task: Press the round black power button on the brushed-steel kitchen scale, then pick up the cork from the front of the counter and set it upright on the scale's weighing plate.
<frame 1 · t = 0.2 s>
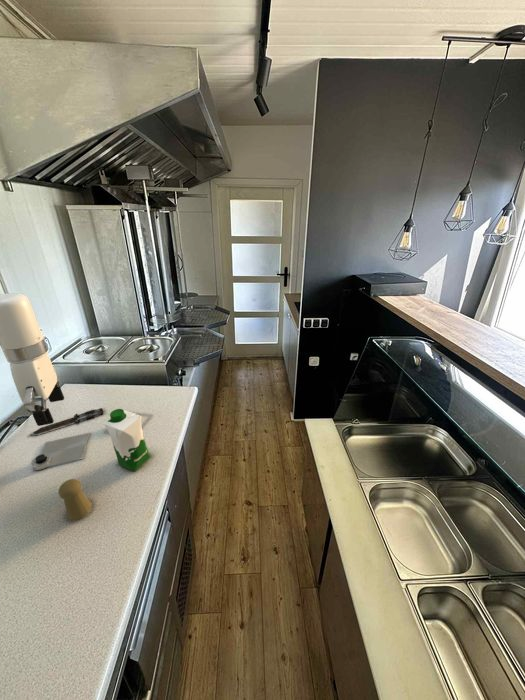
hand: (52, 411, 71), 32 cm above the countertop, tool pointing down, fingers open, 9 cm apart
milk carton: (135, 461, 97), on the countertop
knife: (69, 424, 115), on the countertop
power button: (40, 458, 95), point 3 cm above the countertop, slide at 0.1 cm
scale: (64, 451, 101), on the countertop
cork: (80, 511, 81), on the countertop
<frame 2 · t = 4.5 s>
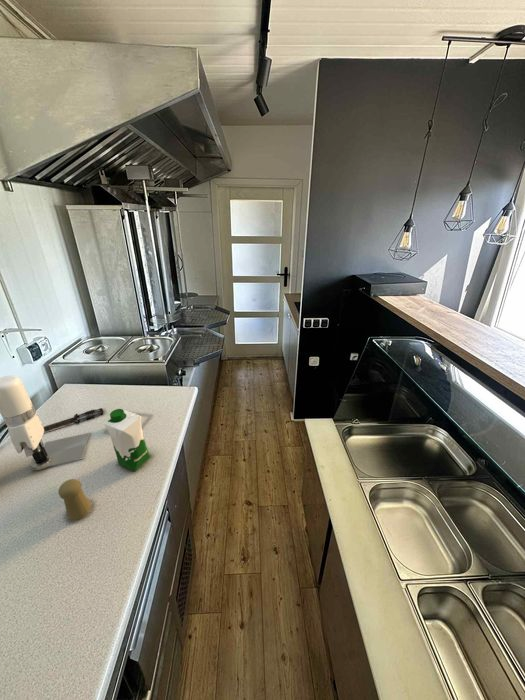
hand: (41, 458, 95), 3 cm above the countertop, tool pointing down, fingers closed
power button: (41, 460, 95), point 2 cm above the countertop, slide at -0.6 cm, touching gripper
everything else where it was.
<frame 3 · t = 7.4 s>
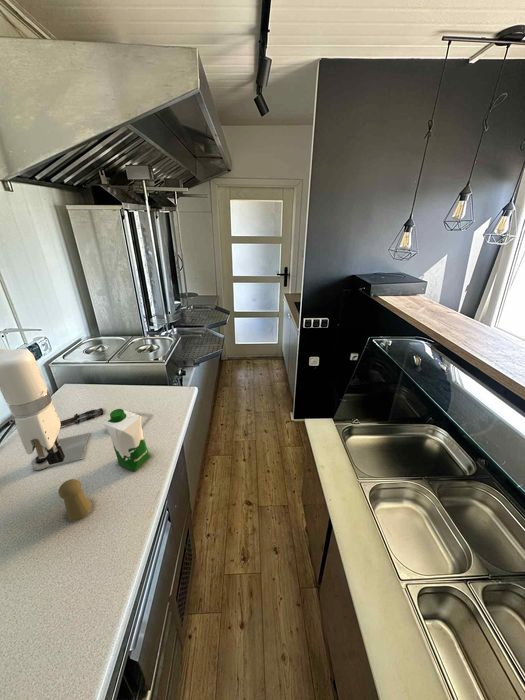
hand: (57, 460, 73), 19 cm above the countertop, tool pointing down, fingers closed
power button: (40, 458, 95), point 3 cm above the countertop, slide at 0.1 cm
everything else where it was.
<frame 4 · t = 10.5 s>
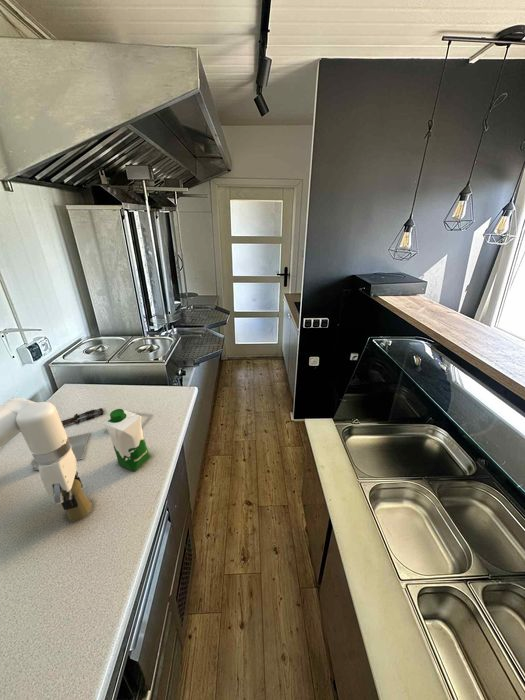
hand: (74, 497, 79), 6 cm above the countertop, tool pointing down, fingers closed on cork, 5 cm apart
cork: (80, 511, 81), on the countertop, touching gripper
everything else where it was.
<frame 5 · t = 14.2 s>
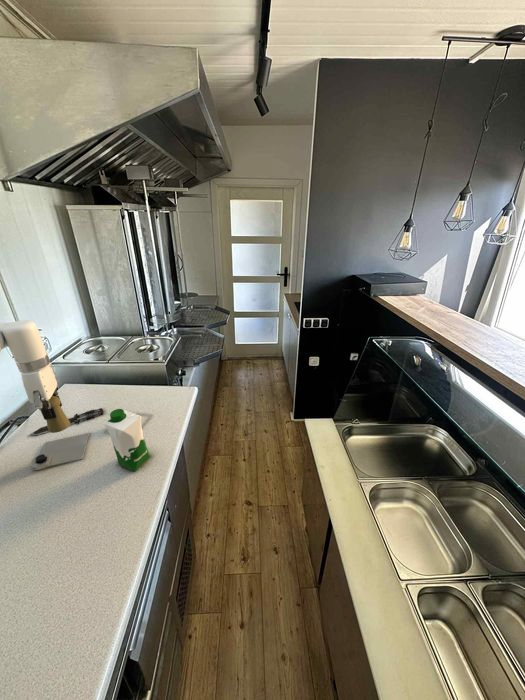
hand: (53, 412, 91), 19 cm above the countertop, tool pointing down, fingers closed on cork, 5 cm apart
cork: (59, 426, 94), point 13 cm above the countertop, touching gripper
everything else where it was.
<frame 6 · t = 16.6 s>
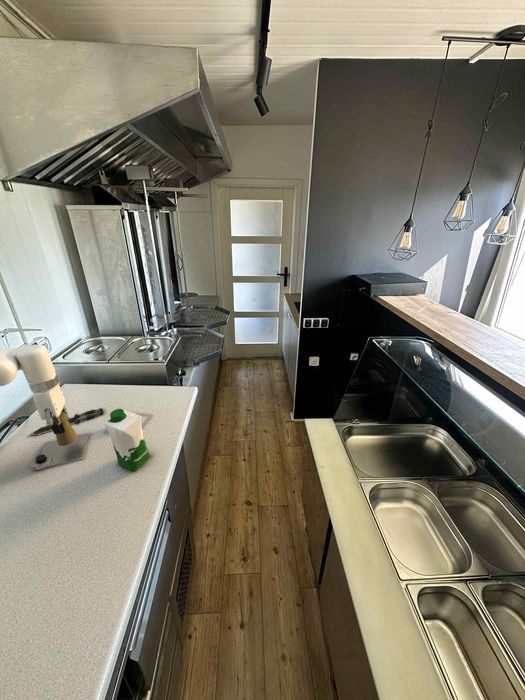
hand: (62, 426, 98), 10 cm above the countertop, tool pointing down, fingers closed on cork, 5 cm apart
cork: (67, 440, 101), point 4 cm above the countertop, touching gripper
everything else where it was.
when the fingers open (7 cm above the countertop, at t = 18.1 s): cork stays where it is, resting on scale.
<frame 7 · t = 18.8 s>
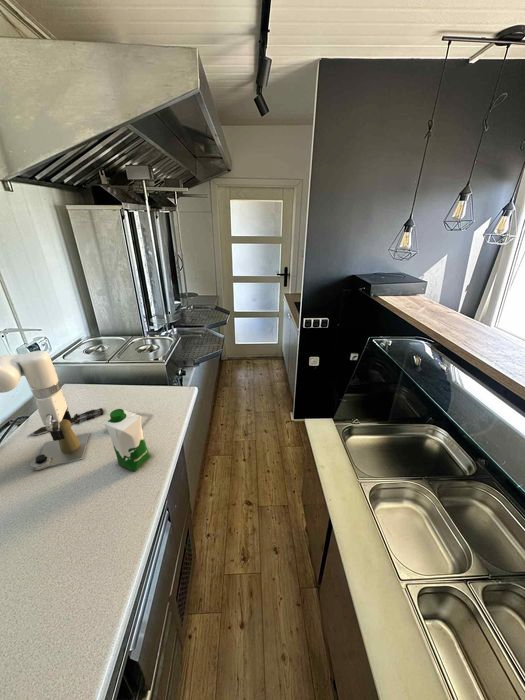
hand: (63, 429, 99), 9 cm above the countertop, tool pointing down, fingers open, 9 cm apart
cork: (70, 446, 103), point 1 cm above the countertop, touching scale
everything else where it was.
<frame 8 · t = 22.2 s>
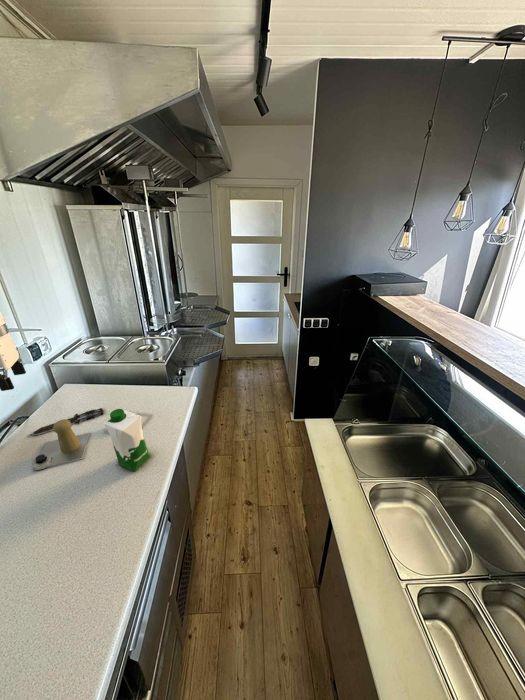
hand: (14, 381, 91), 28 cm above the countertop, tool pointing down, fingers open, 9 cm apart
nothing on the countertop moved.
at the end: power button pushed in 0.9 cm at the most during the clip, back to where it started at the end; cork inside the target area on the scale (0.5 cm from its centre), point 0.7 cm above the scale's base; cork touching scale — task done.
